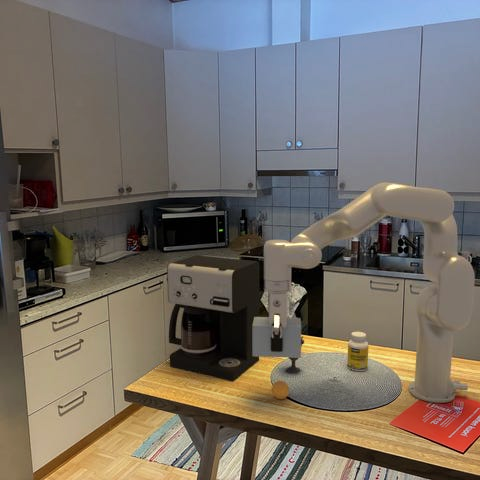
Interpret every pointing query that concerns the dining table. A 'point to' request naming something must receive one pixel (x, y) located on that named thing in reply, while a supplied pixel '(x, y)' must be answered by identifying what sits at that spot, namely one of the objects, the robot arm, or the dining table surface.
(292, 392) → the dining table surface
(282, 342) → the robot arm
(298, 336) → the grey rectangular block
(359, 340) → the pill bottle
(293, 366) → the sundae
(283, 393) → the ball
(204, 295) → the coffee maker
